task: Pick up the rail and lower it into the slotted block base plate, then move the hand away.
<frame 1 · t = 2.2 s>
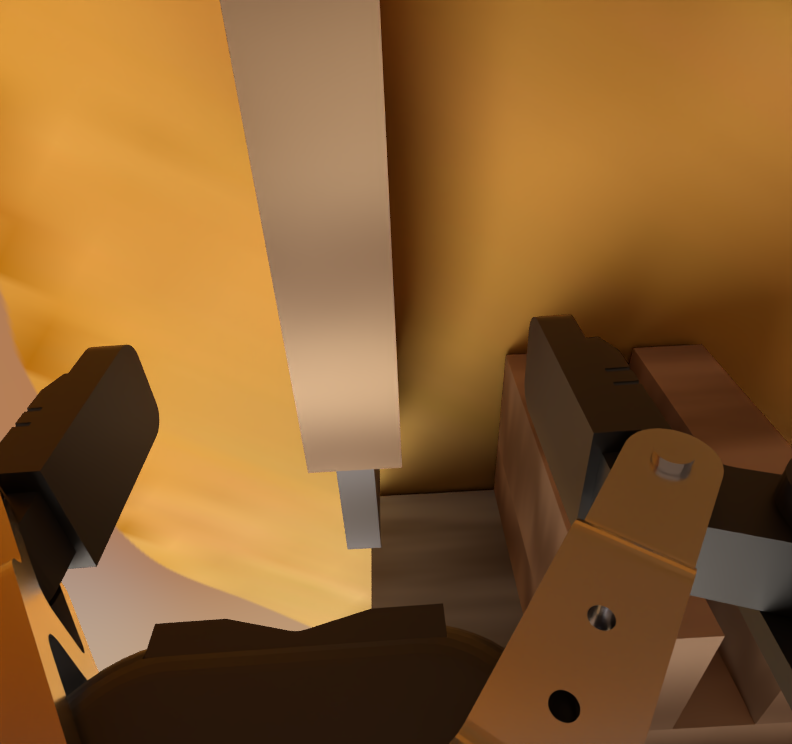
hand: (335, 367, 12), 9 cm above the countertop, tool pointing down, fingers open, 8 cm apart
rail: (341, 190, 19), on the countertop
slotted block base plate: (588, 423, 25), on the countertop
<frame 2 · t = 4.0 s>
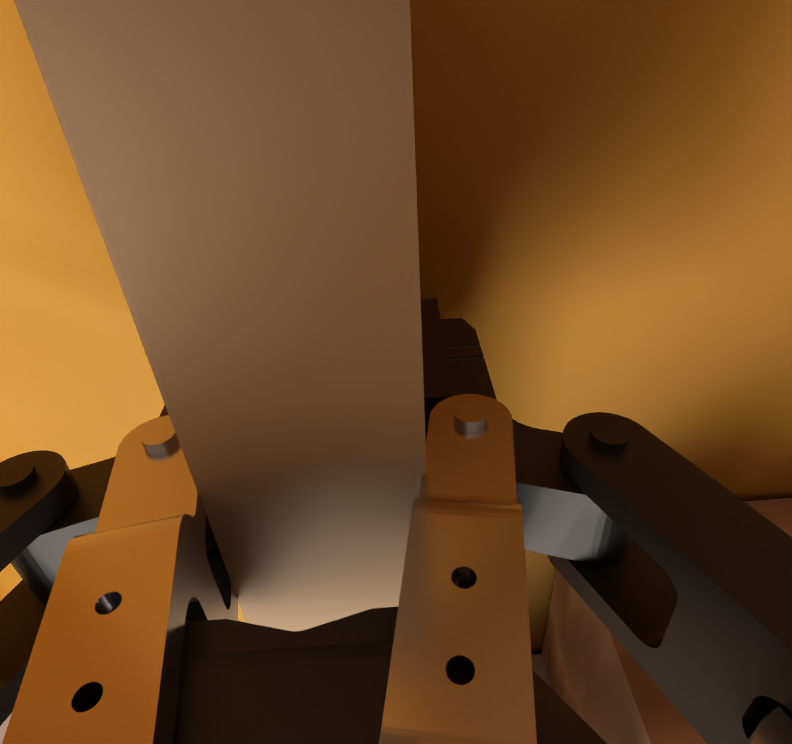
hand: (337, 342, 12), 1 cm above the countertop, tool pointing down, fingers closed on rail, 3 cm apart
rail: (340, 327, 13), on the countertop, touching gripper
slotted block base plate: (668, 584, 19), on the countertop
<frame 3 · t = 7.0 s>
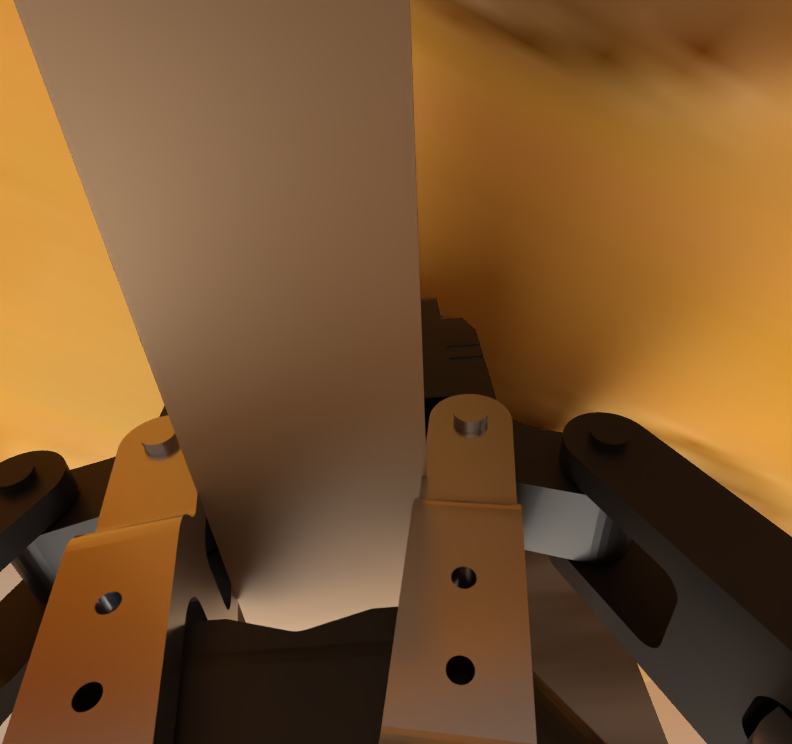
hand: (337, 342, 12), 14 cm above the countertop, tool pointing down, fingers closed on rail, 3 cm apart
rail: (340, 330, 13), point 13 cm above the countertop, touching gripper
slotted block base plate: (369, 385, 31), on the countertop
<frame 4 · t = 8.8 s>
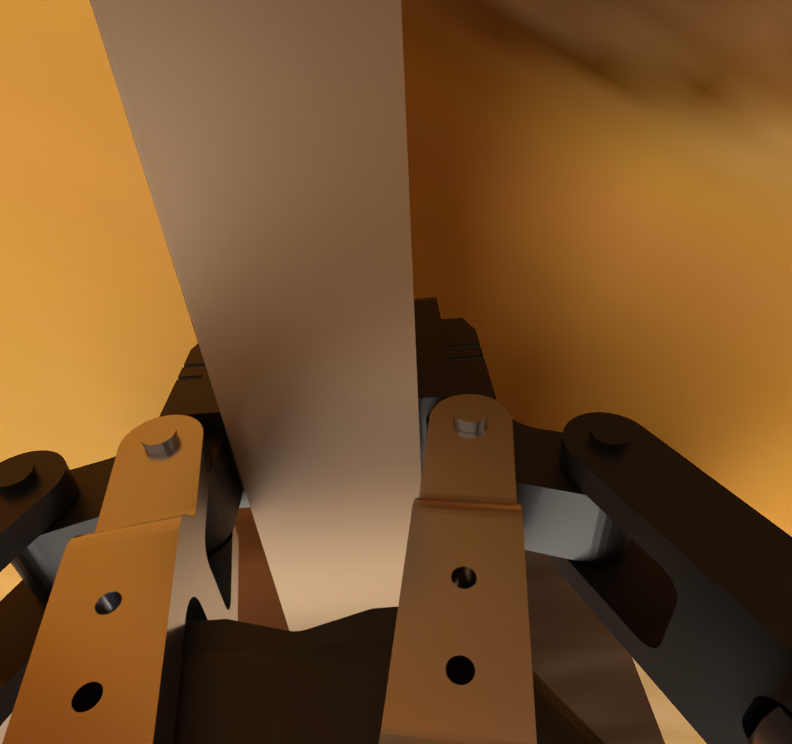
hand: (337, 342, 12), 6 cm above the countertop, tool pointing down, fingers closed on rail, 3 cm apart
rail: (342, 294, 14), point 4 cm above the countertop, touching gripper
slotted block base plate: (367, 494, 24), on the countertop
when the fingers open (2 cm above the countertop, at t = 10.0 s): rail stays where it is, on the countertop.
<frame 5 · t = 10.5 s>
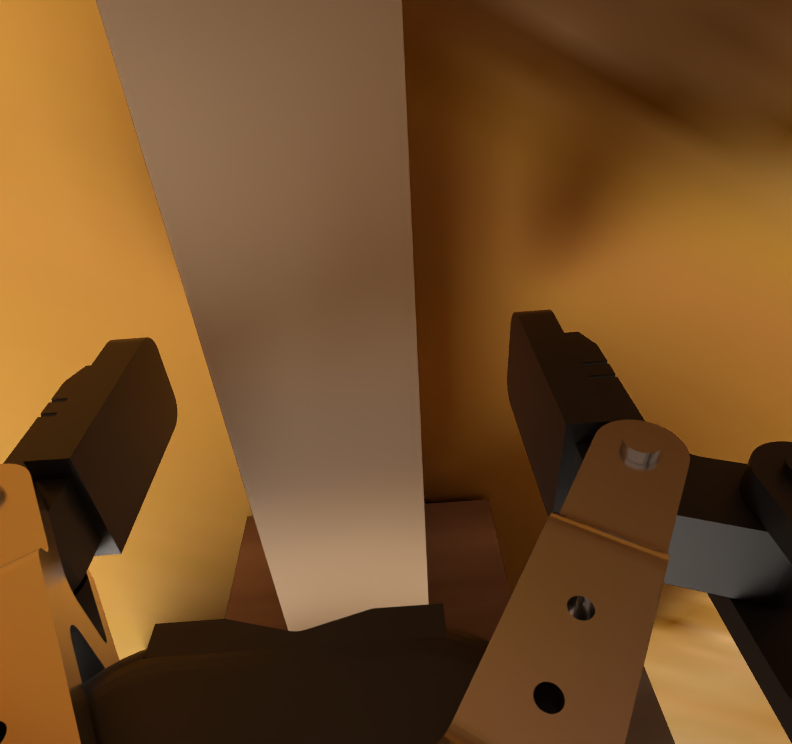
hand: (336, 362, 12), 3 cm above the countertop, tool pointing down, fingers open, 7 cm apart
rail: (343, 298, 14), on the countertop
slotted block base plate: (377, 580, 21), on the countertop
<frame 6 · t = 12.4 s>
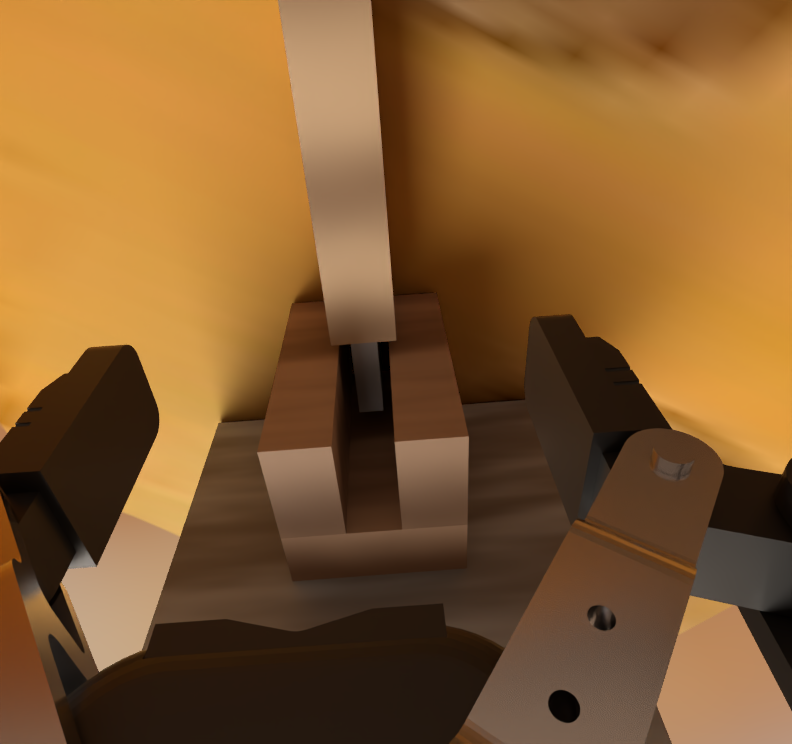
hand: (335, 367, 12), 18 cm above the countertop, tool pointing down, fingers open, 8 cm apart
rail: (350, 151, 27), on the countertop
slotted block base plate: (370, 358, 33), on the countertop
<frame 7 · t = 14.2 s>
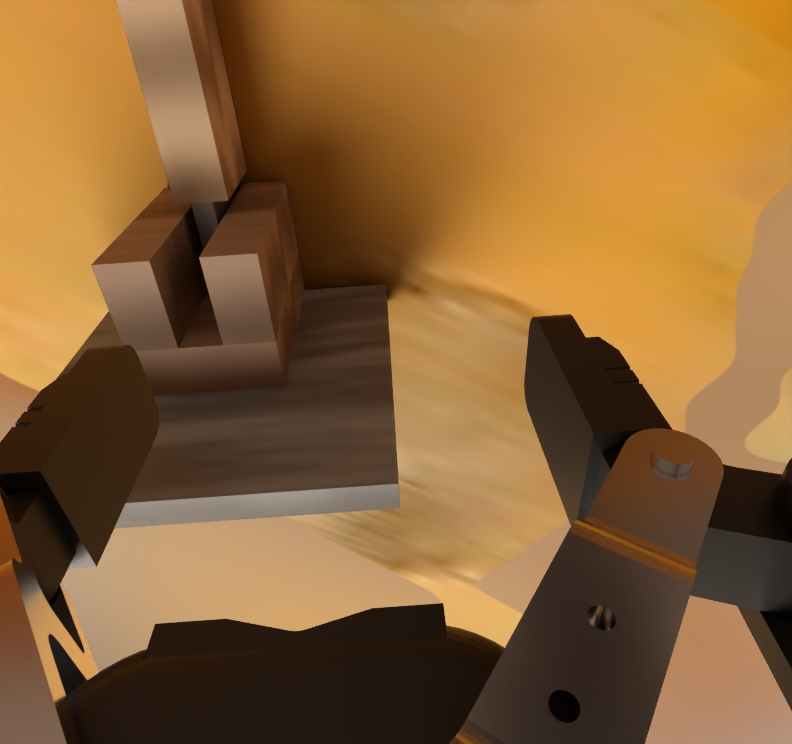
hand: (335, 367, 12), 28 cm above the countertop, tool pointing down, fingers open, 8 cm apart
rail: (195, 48, 32), on the countertop
slotted block base plate: (238, 242, 39), on the countertop
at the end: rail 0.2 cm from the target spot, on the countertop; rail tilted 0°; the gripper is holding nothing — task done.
